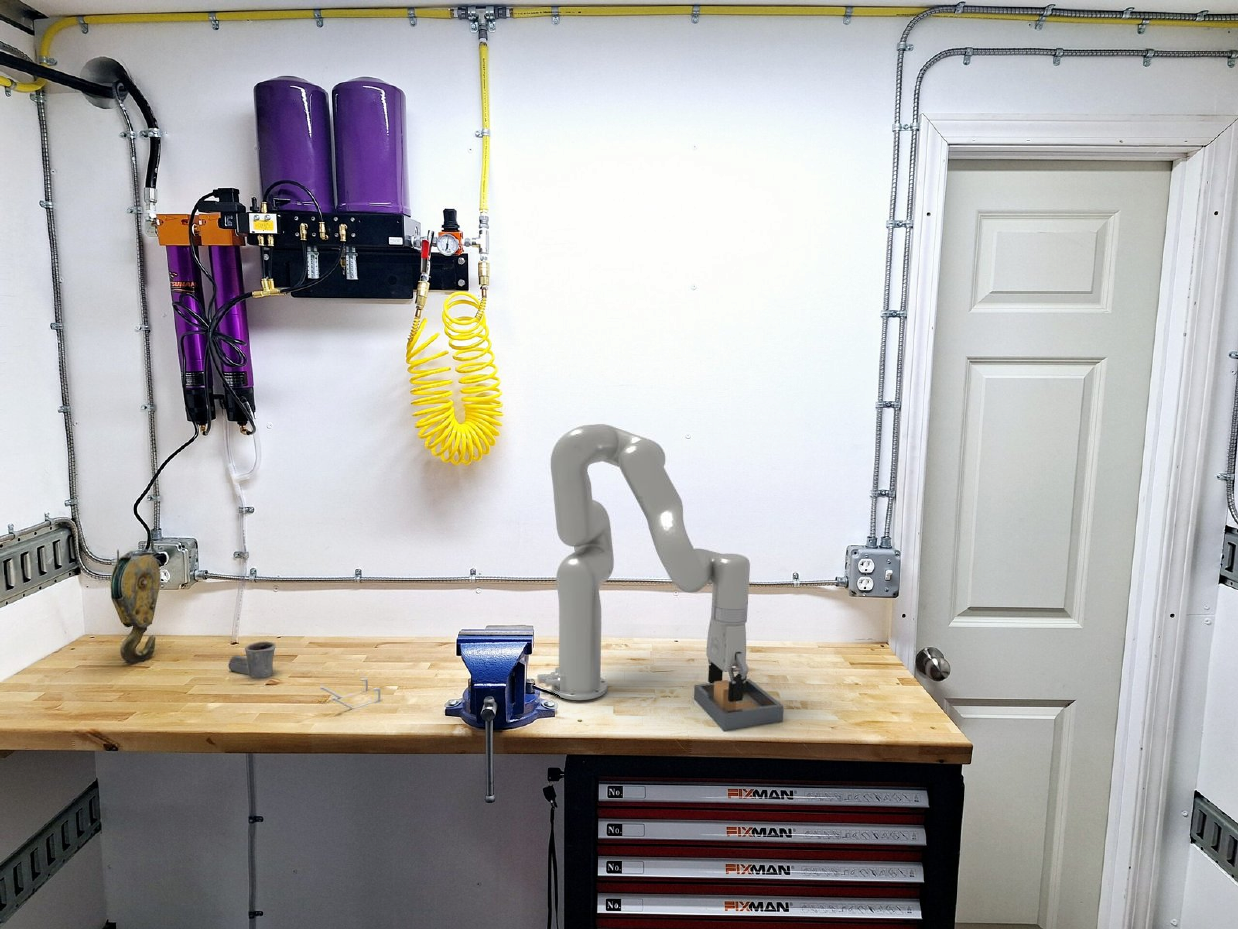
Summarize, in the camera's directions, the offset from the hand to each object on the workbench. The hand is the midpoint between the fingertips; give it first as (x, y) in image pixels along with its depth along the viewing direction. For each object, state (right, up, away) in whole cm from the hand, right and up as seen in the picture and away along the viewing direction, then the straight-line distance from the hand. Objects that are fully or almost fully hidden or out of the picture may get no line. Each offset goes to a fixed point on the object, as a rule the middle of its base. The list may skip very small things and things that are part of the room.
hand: (724, 691), depth 155 cm
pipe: (-110, -3, +18) cm, 111 cm away
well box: (+3, -6, +1) cm, 7 cm away
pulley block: (-141, -1, +25) cm, 144 cm away
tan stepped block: (+3, -5, +1) cm, 6 cm away
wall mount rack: (-81, -5, +4) cm, 82 cm away
